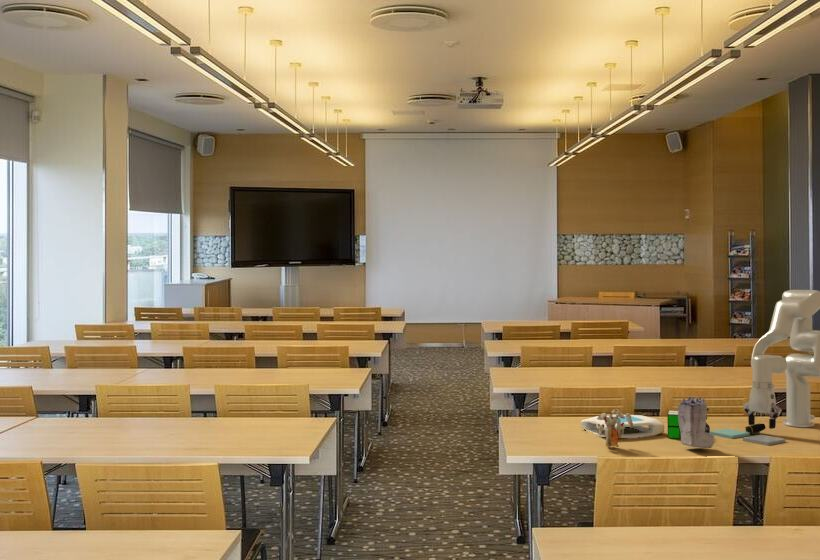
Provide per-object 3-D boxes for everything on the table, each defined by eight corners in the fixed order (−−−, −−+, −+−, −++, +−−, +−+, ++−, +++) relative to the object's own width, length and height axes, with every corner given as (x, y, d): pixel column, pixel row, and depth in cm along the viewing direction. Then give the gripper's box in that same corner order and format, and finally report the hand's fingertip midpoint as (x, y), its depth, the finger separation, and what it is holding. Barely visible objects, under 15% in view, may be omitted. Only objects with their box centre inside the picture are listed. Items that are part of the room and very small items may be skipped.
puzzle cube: (693, 435, 338) (693, 411, 338) (693, 439, 329) (693, 415, 329) (668, 433, 342) (668, 410, 342) (667, 438, 332) (667, 414, 332)
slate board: (760, 437, 333) (760, 434, 333) (785, 442, 324) (785, 439, 324) (742, 440, 326) (742, 437, 326) (767, 445, 317) (767, 442, 317)
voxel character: (621, 444, 320) (620, 406, 320) (634, 449, 311) (634, 410, 311) (595, 446, 317) (595, 408, 317) (608, 451, 308) (607, 411, 308)
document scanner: (580, 431, 349) (580, 416, 349) (635, 427, 358) (635, 413, 358) (607, 440, 329) (607, 425, 329) (665, 436, 338) (665, 421, 338)
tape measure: (767, 430, 337) (764, 421, 338) (755, 434, 334) (752, 425, 335) (756, 432, 343) (753, 424, 344) (744, 436, 340) (741, 427, 341)
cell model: (718, 450, 308) (718, 398, 308) (692, 452, 306) (692, 399, 306) (700, 444, 320) (700, 393, 320) (675, 445, 319) (675, 394, 318)
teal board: (726, 431, 346) (726, 428, 346) (749, 435, 337) (749, 432, 337) (709, 434, 340) (709, 431, 340) (731, 438, 331) (731, 435, 331)
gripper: (786, 387, 333) (786, 429, 333) (749, 383, 348) (749, 422, 347) (775, 388, 329) (774, 430, 329) (738, 384, 344) (738, 424, 344)
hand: (761, 426), depth 338 cm, fingers open, 9 cm apart
